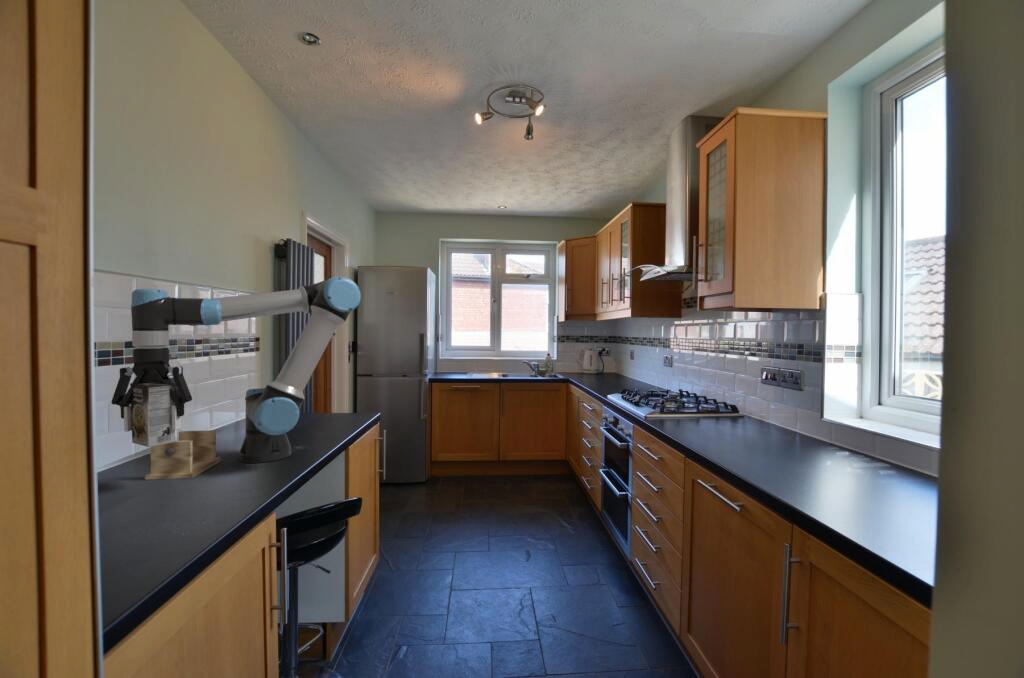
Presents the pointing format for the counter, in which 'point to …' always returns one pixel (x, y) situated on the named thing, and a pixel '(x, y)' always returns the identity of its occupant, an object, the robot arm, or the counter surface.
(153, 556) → the counter surface
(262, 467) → the counter surface
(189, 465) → the oak holder
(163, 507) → the counter surface
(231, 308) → the robot arm
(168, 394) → the coffee box
